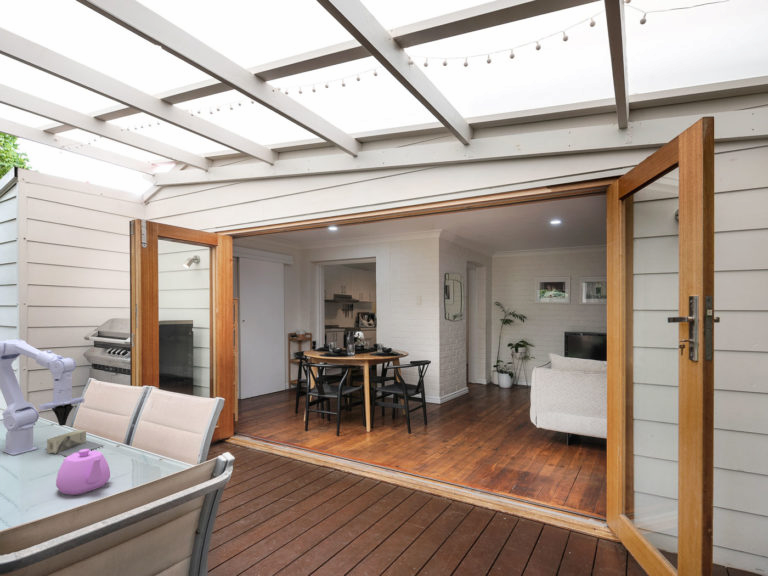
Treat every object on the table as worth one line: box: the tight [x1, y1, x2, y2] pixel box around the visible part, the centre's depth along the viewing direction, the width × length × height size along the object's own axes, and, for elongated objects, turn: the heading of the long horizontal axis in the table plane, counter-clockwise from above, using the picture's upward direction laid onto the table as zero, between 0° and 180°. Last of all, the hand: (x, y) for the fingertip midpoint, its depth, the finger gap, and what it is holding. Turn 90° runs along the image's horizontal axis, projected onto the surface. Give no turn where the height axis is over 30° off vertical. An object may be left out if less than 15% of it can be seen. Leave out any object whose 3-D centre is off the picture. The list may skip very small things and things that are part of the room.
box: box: [46, 429, 87, 454], centre depth 168 cm, size 5×4×13 cm
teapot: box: [55, 449, 111, 496], centre depth 131 cm, size 20×13×12 cm, turn 56°
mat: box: [44, 439, 105, 458], centre depth 168 cm, size 17×13×1 cm
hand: (62, 424), depth 164 cm, fingers closed
